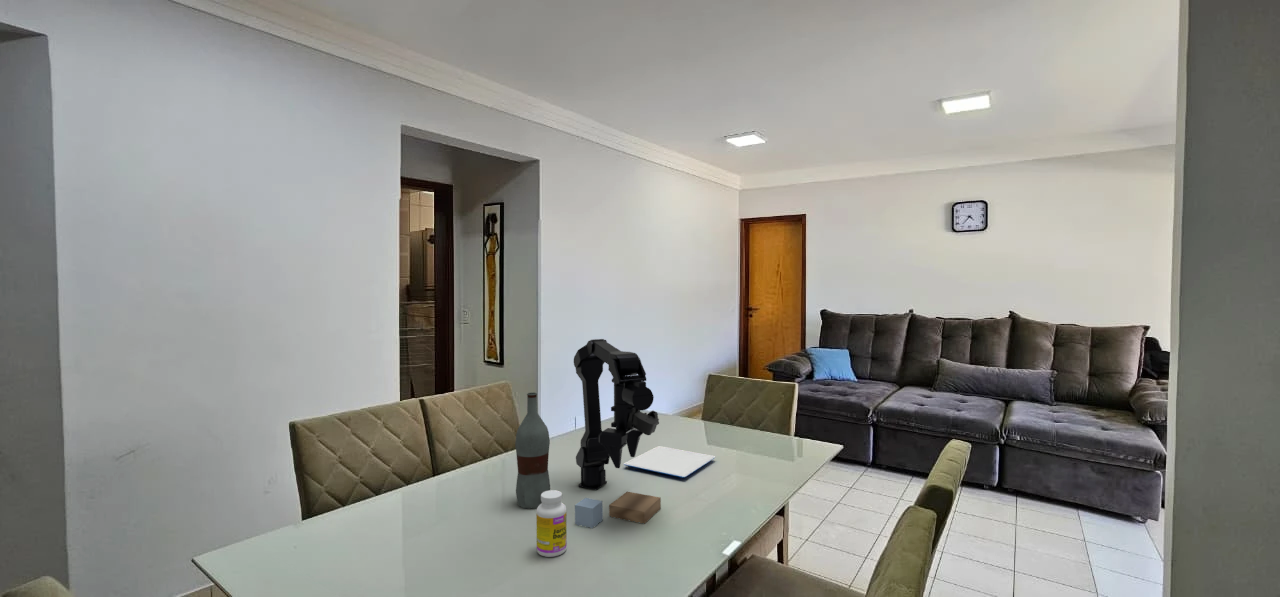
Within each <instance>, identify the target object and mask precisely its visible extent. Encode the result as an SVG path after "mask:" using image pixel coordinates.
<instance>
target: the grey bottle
mask: <svg viewBox="0 0 1280 597" xmlns="http://www.w3.org/2000/svg"><path fill="white" fill-rule="evenodd" d="M526 396H527V397H526V398H527V406H526V409H527V412H526V415H525V416H524V418H523V420H522V422H521V423H520V424H519V427H518V428H517V431H516V435H515V442H514V443H515V452H516V453H515V454H516V464H517V476H516V477H517V478H516V484H515V495H516V496H515V497H516V501H517V504H518V506H519V507H520V506H521V507H520V508H522V507H523V508H522V509H526V508H535V509H537V508H538V506H539V505H540V504H542V502H541V494H542V493H543V492H545V491H549V490H551V481H550V474H549V467H548V466H549V454H550V444H551V443H550V434H549V429H548V426H547V425H546V424H545V422H544V421H543V419H542V417H541V416H540V414H539V413H538V393H537V392H535V391H534V392H527V393H526Z"/></svg>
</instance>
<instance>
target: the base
mask: <svg viewBox="0 0 1280 597" xmlns="http://www.w3.org/2000/svg"><path fill="white" fill-rule="evenodd" d="M661 501H662V499H661V497H660V496H654V495H648V494H642V493H638V492H633V491H626V492H625V493H622V495H620V496H619V497H617V499H615V500H614V501H612V502H611V503H610V504H609V505H608V512H609V513H608V517H609V516H611V517H610V518H613V517H615V519H618V518H620V520H623V519H625V520H624V521H628V520H630V521H629V522H633V521H635V522H634V523H638V522H640V523H639V524H642V523H644V524H643V525H645V524H646V523H648V521H649V520H650V519H652V518H653V515H654V514H655V513H656V514H657V513H658V512H660V510H661V509H662V508H661V507H662V504H661V503H662V502H661ZM654 516H655V515H654Z"/></svg>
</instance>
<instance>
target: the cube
mask: <svg viewBox="0 0 1280 597" xmlns="http://www.w3.org/2000/svg"><path fill="white" fill-rule="evenodd" d="M603 505H604V504H603V500H600V499H594V498H589V497H584V498H583V499H581V500H580V501H579V502H577V503H576V504H574V525H575V524H577V525H576V526H579V525H582V526H581V527H584V526H586V527H585V528H588V527H590V528H589V529H593V527H594V526H595V527H596V526H598V523H599V522H600V523H601V522H602V521H603V520H604V518H603V517H604V516H603V514H604V513H603V510H604V509H603V507H604V506H603ZM600 523H599V524H600ZM595 527H594V528H595Z"/></svg>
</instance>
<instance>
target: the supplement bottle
mask: <svg viewBox="0 0 1280 597" xmlns="http://www.w3.org/2000/svg"><path fill="white" fill-rule="evenodd" d="M562 500H563V492H561V491H559V490H555V489H550V490H549V491H545V492H543V493H542V494H541V502H542V504H540V505H539V506H538V508H536V511H535V512H536V513H535V514H536V551H537V552H536V553H537V554H539V555H540V556H542V557H546V558H553V557H554V558H555V557H558V556H560V555H562V554H564V553H565V551H567V544H568V543H567V542H568V541H567V535H568V534H567V531H568V530H567V528H568V527H567V507H566V504H564V503H563V502H562Z"/></svg>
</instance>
